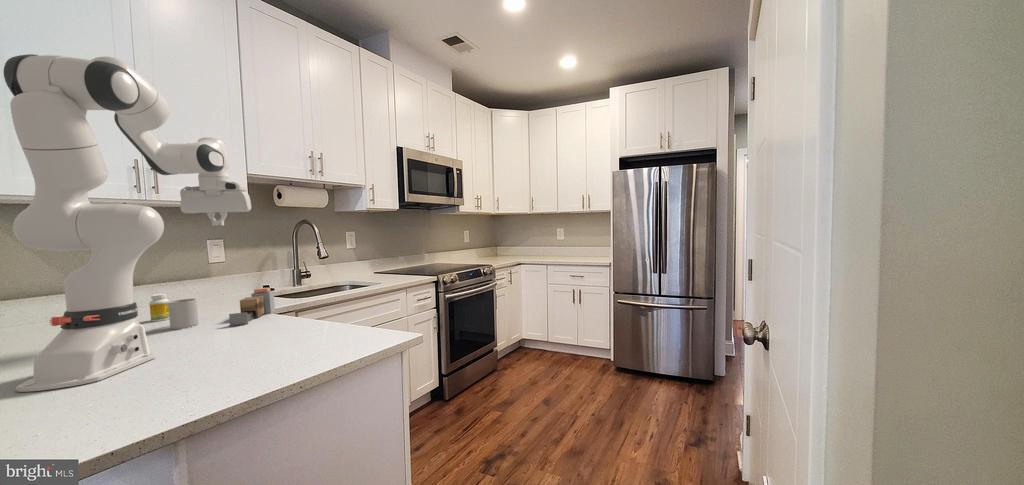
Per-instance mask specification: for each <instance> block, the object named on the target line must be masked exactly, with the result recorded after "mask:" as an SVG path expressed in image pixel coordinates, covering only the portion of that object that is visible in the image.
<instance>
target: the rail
mask: <svg viewBox="0 0 1024 485" xmlns="http://www.w3.org/2000/svg"><path fill="white" fill-rule="evenodd" d="M228 316H229V326H230V327H233V326H232V325H237V326H243V325H242V324H247V325H248V324H249V322H251V321H253V320H254V319H253V318H255V317H256V312H255V310H254V311H246V312H244V313H241V312H237V313H236V312H235V313H228ZM256 318H257V317H256ZM256 318H255V319H256ZM252 319H253V320H252ZM250 320H251V321H250ZM248 321H249V322H248Z"/></svg>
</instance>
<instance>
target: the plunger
mask: <svg viewBox="0 0 1024 485" xmlns="http://www.w3.org/2000/svg"><path fill="white" fill-rule="evenodd" d="M268 291H271V287H258V288H257V287H256V288H255V289H254V290H253V293H258V292H260V293H265V292H268Z"/></svg>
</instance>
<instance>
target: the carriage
mask: <svg viewBox="0 0 1024 485" xmlns="http://www.w3.org/2000/svg"><path fill="white" fill-rule="evenodd" d="M239 309H240V313H244V312H246V311H254V310H255V312H256V318H260V317H262V316H263V315H265V314H264V300H263V296H258V297H251V296H248V297H244V298H242V299H239ZM262 314H263V315H262Z"/></svg>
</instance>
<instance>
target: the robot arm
mask: <svg viewBox="0 0 1024 485" xmlns="http://www.w3.org/2000/svg"><path fill="white" fill-rule="evenodd" d="M3 78H4V81H5V84H6V86H7V87H8V89H9V91H10V92H11V95H13V97H12V99H11V100H10V103H9V105H10V106H9V107H10V114H11V117H12V118H11V119H12V123H13V128H14V131H15V134H16V136H17V140H18V141H19V144H20V147H21V149H22V151H23V153H24V156H25V159H26V161H27V164H28V166H29V169H30V171H31V174H32V177H33V180H34V181H33V182H34V185H35V186H34V187H35V190H34V195H33V198H32V201H31V202H30V204H29V205H28V206H27V207H26V208H25V209H24V210H22V211H21V212H20V213H18V215H17V216H16V217H15V219H14V221H13V224H12V232H13V234H14V237H15V238H16V239H17V241H18V242H20V244H22V245H23V246H24V247H26V248H29V249H32V250H41V251H49V252H50V251H51V252H73V251H74V252H77V251H79V252H80V251H91V255H90V258H89V260H88V262H87V263H86V264H85V265H83V266H80V267H79V268H76V269H74V270H73V271H72V272H70V273H69V274H67V275H66V276H65V279H64V281H63V286H64V287H63V288H64V298H65V299H64V300H65V306H66V310H65V311H64V313H63V316H52V317H50V319H49V325H50V326H51V327H57V326H60V329H61V330H60V331H59V333H57V335H56V336H55V337H54V338H53V339H52V340H51V341H50V342H49V343H48V344H47V345H46V346H45V348H43V349H42V350H41V351H40V352H39V354H37V356H36V357H35V359H34V361H33V377H32V378H30V379H28V380H25V381H24V382H22V383H20V384H17V386H15V392H20V393H23V392H24V393H25V392H40V391H47V390H55V389H56V390H57V389H62V388H69V387H70V388H71V387H75V386H79V385H86V384H90V383H94V382H98V381H102V380H104V379H106V378H109V377H112V376H114V375H117V374H119V373H122V372H123V371H126V370H129V369H131V368H134V367H136V366H139V365H142V364H144V363H146V362H149V361H151V360H153V359H156V354H155V353H153V352H150V348H149V344H148V339H147V334H146V329H145V327H144V326H143V325H142V324H141V323H140V322H139V321H138V319H137V317H138V316H139V311H138V310H139V308H138V305H137V302H135V299H134V297H135V296H134V272H135V267H136V265H137V263H138V261H139V259H140V257H141V256H142V255H143V254H144V252H146V251H147V249H148V248H150V247H151V246H152V245H154V244H155V243H157V242H158V241H159V240H160V239H161V237H162V235H163V234H164V230H165V223H164V220H163V217H162V215H160V213H159V212H158V211H157V210H155V209H154V208H153V207H151V206H146V205H140V204H134V203H133V204H132V203H96V204H95V203H91V202H90V200H89V196H88V195H89V192H91V191H93V190H94V189H96V188H98V187H100V186H102V185H103V184H104V183H105V182H106V181H107V178H108V175H109V171H108V169H107V166H106V163H105V160H104V157H103V155H102V153H101V152H102V151H101V150H100V147H99V144H98V141H97V138H96V136H95V133H94V132H93V130H92V127H91V125H90V123H89V122H88V119H87V112H88V111H110V112H111V111H113V112H114V122H115V124H116V126H117V127H118V129H119V130H120V132H122V134H123V135H124V136H125V137H126V139H127V140H128V141H129V142H130V143H131V144H132V145H133V146H134V147H135V148H136V150H137V151H138V152H139V153H140V154H141V155H142V156H143V159H145V161H146V163H147V164H148V166H149V167H150V168H151V169H152V170H153V171H154V172H156V173H157V174H159V175H161V176H171V175H173V176H174V175H183V174H184V175H187V174H189V175H190V174H191V175H192V174H193V175H194V174H198V176H197V178H198V186H197V185H196V186H195V185H194V186H185V187H183V188H181V189H180V191H179V195H180V211H181V212H182V213H183V214H207V217H208V218H209V219H210V220H211V226H225V220H226V218H227V217H228V213H241V212H242V213H243V212H246V213H247V212H250V211H252V203H251V197H250V195H249V193H248V192H247V190H248V188H247V186H246V185H244V184H242V183H241V184H240V183H237V182H235V181H231V176H230V174H229V168H230V162H229V154H228V150H227V146H226V144H225V143H224V142H223V141H222V140H220V139H216V138H213V137H201V138H198V140H197V142H193V143H191V142H190V143H169V142H167V143H166V142H162V141H159V140H158V139H157V138H156V137H155V135H154V134H153V133H152V132H151V131H154V130H156V129H159V128H160V127H162V126H163V125H164V124H165V123H166V121H168V118H169V116H170V106H169V104H168V102H167V100H166V98H164V96H163V95H162V94H161V93H160V92H159V91H158V90H157V89H156V88H155V86H154V85H152V84H151V83H150V81H148V80H147V78H145V77H144V76H143V75H142V74H141V73H139V72H138V71H137V70H136V69H134V68H133V67H131V66H130V65H129V64H128V63H126V62H125V61H123V60H121V59H119V58H116V57H113V56H98V57H95V58H92V59H87V58H78V57H72V56H68V55H51V54H50V55H48V54H47V55H38V54H31V53H29V54H22V55H21V54H20V55H15V56H12V57H10V58H8V59H7V61H5V63H4V66H3ZM217 213H219V215H220V216H221V217H220V218H219V219H216V218H215V217H216V214H217Z"/></svg>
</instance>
